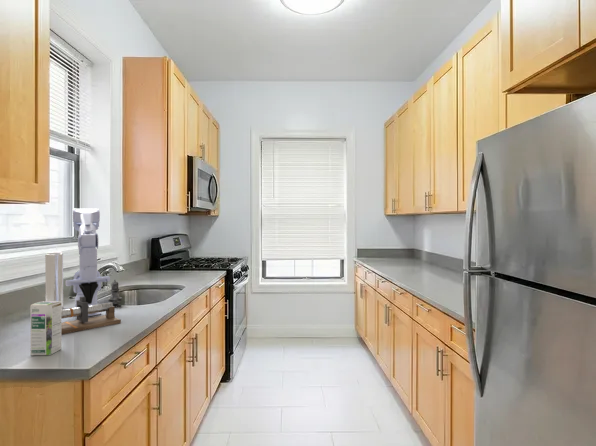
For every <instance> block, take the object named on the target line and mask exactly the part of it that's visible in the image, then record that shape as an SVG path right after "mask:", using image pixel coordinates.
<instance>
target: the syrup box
mask: <svg viewBox="0 0 596 446" xmlns="http://www.w3.org/2000/svg"><path fill="white" fill-rule="evenodd" d="M29 309H30V310H29V311H30V313H29V314H30V315H29V317H30V351H29V352H30V356H32V357H33V356H52V355H53V354H55V353H57V352H58V351H60V350H61V349H62V334H61V323H62V319H61V310H62V309H61V301H54V302H46V300H45V301H44V300H43V301H38V302H35V303H32V304H30V308H29Z"/></svg>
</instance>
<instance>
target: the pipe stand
mask: <svg viewBox="0 0 596 446" xmlns="http://www.w3.org/2000/svg"><path fill="white" fill-rule="evenodd" d="M115 308H116V307H114V306H113V303H112V302H110V303H109V302H104V303H97V305H90V306H88V314H92V313H98V312H100V313H102V312H103V313H104V312H105V314H104V315H102V314H101V315H96V316H90V317H88V322H84V323H83V322H81V321H79V320H77V319H75V320H68V321H64V322H63V321H61V335H65V334H70V333H75V332H81V331H85V330H91V329H97V328H101V327H107V326H111V325H117V324H121V323H122V319H120V318H118V317H115V315H116V313H115V310H116V309H115ZM80 315H82V307H77V308H75V307H71V308H65V309H64V308H63V309H61V320H62V319H67V318H73V317H77V316H80Z"/></svg>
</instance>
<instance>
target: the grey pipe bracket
mask: <svg viewBox="0 0 596 446" xmlns="http://www.w3.org/2000/svg"><path fill="white" fill-rule="evenodd" d="M76 302H77V307H82V315H80V316H76V320H79V321H81V322H83V323H84V322H88V318H89V316H88V302H86V297H80V300H76Z"/></svg>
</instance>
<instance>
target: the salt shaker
mask: <svg viewBox="0 0 596 446" xmlns="http://www.w3.org/2000/svg"><path fill="white" fill-rule="evenodd" d="M110 287H111V289H110V291H111V292H110V293H111V294H110V296H109V298H107V300H108V303H110V302H112V303H113V306H114V307H115V308H120V307H122V305H121V304H120V303H121V302H122V299H123V297H121V295H120V294H119V292H120V289H119V282H118V281H116V279H114V280H113V281H112V282H111V285H110Z"/></svg>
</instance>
